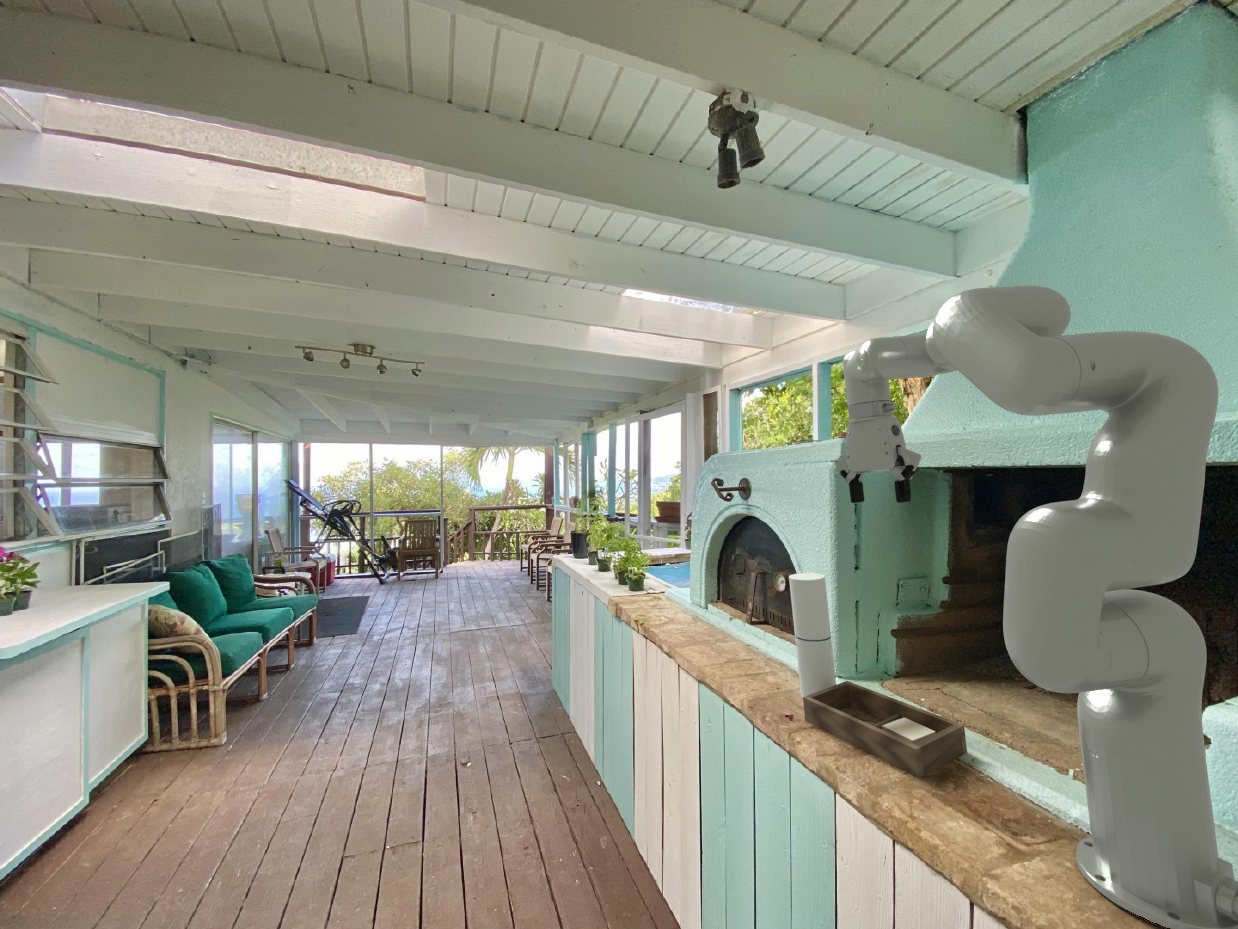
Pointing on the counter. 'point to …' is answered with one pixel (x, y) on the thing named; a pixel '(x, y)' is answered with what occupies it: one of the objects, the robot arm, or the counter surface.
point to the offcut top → (908, 730)
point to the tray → (881, 743)
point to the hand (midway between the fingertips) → (879, 502)
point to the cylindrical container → (812, 632)
